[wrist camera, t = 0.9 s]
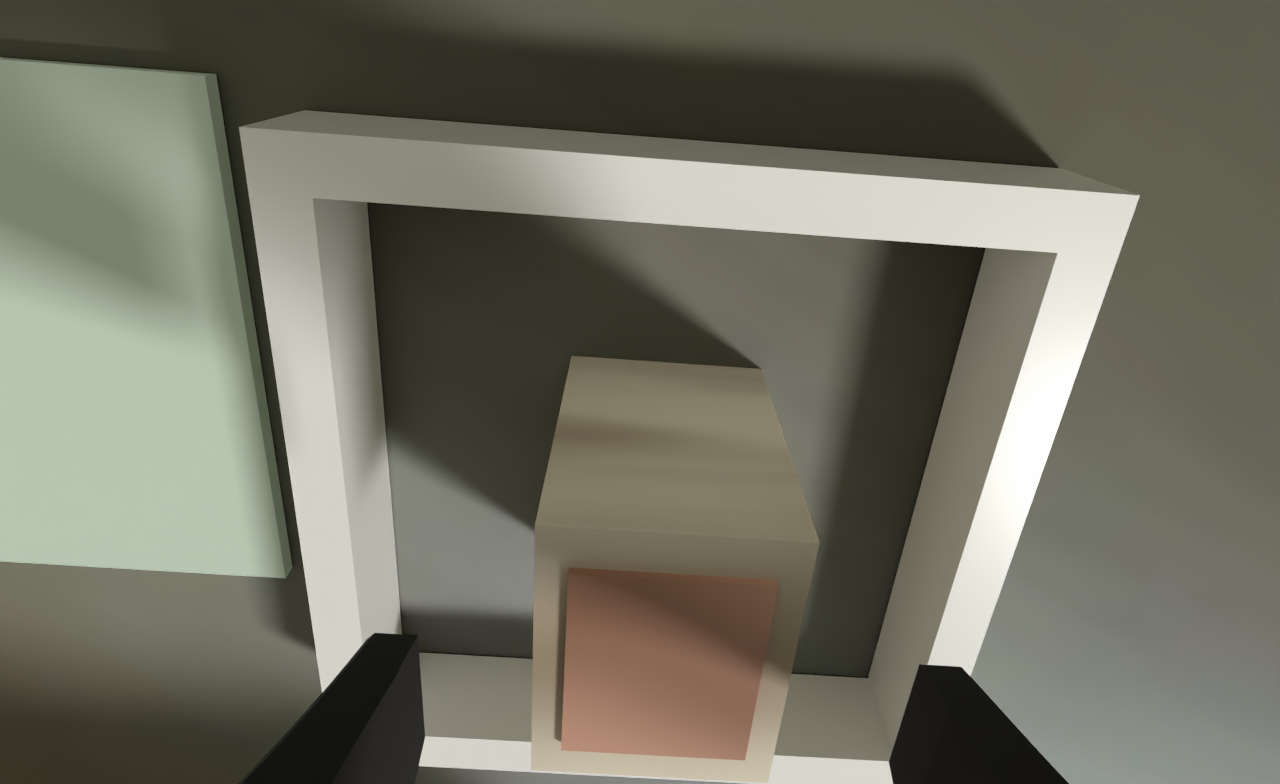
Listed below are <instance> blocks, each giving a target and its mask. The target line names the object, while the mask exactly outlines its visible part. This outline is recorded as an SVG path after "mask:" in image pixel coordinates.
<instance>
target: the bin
mask: <svg viewBox="0 0 1280 784" xmlns="http://www.w3.org/2000/svg"><path fill="white" fill-rule="evenodd" d="M239 132H240V138H241V145H242V152H243V159H244V166H245V172H246V179H247V186H248V193H249V200H250V206H251V213H252V220H253V227H254V234H255V240H256V247H257V254H258V261H259V268H260V274H261V281H262V288H263V295H264V302H265V308H266V315H267V322H268V329H269V336H270V342H271V349H272V356H273V363H274V370H275V376H276V383H277V390H278V397H279V404H280V410H281V417H282V424H283V431H284V438H285V444H286V451H287V458H288V465H289V472H290V478H291V485H292V492H293V499H294V505H295V512H296V519H297V526H298V533H299V539H300V546H301V553H302V560H303V567H304V573H305V580H306V587H307V594H308V601H309V607H310V614H311V621H312V628H313V635H314V641H315V648H316V655H317V662H318V669H319V675H320V682H321V689H322V693H323V691H324V690H325V689H326V688H327V687H328V686H329V684H330V683H331V682H332V681H333V680H334V678H335V677H336V676H337V675H338V674H339V673H340V671H341V670H342V669H343V668H344V667H345V665H346V664H347V663H348V662H349V660H350V659H351V658H352V657H353V656H354V654H355V653H356V652H357V651H358V649H359V648H360V647H361V646H362V645H363V643H364V642H365V641H366V640H367V638H369V637H370V636H371V635H373V634H374V633H387V634H402V626H401V614H400V602H399V589H398V577H397V565H396V552H395V540H394V528H393V515H392V503H391V491H390V478H389V466H388V454H387V441H386V429H385V417H384V405H383V392H382V380H381V368H380V355H379V343H378V331H377V318H376V306H375V294H374V281H373V269H372V257H371V244H370V232H369V220H368V207H367V202H372V203H386V204H399V205H413V206H426V207H440V208H454V209H467V210H481V211H494V212H508V213H521V214H535V215H549V216H562V217H576V218H589V219H603V220H616V221H630V222H644V223H657V224H671V225H684V226H698V227H711V228H725V229H739V230H752V231H766V232H779V233H793V234H806V235H820V236H834V237H847V238H861V239H874V240H888V241H901V242H915V243H929V244H942V245H956V246H969V247H983V248H986V249H985V253H984V256H983V260H982V264H981V267H980V271H979V275H978V278H977V282H976V286H975V289H974V293H973V297H972V300H971V304H970V307H969V311H968V315H967V318H966V322H965V326H964V329H963V333H962V337H961V340H960V344H959V348H958V351H957V355H956V359H955V362H954V366H953V370H952V373H951V377H950V380H949V384H948V388H947V391H946V395H945V399H944V402H943V406H942V410H941V413H940V417H939V421H938V424H937V428H936V432H935V435H934V439H933V443H932V446H931V450H930V453H929V457H928V461H927V464H926V468H925V472H924V475H923V479H922V483H921V486H920V490H919V494H918V497H917V501H916V505H915V508H914V512H913V515H912V519H911V523H910V526H909V530H908V534H907V537H906V541H905V545H904V548H903V552H902V556H901V559H900V563H899V567H898V570H897V574H896V578H895V581H894V585H893V588H892V592H891V596H890V599H889V603H888V607H887V610H886V614H885V618H884V621H883V625H882V629H881V632H880V636H879V640H878V643H877V647H876V651H875V654H874V658H873V661H872V665H871V669H870V672H869V676H868V678H855V677H838V676H820V675H803V674H791V678H790V683H789V688H788V692H787V697H786V701H785V706H784V711H783V715H782V720H781V725H780V729H779V734H778V738H777V743H776V748H775V752H774V757H773V762H772V766H771V771H770V775H769V780H768V783H761V782H743V781H724V780H706V779H687V778H669V777H650V776H632V775H613V774H595V773H576V772H558V771H539V770H531V737H532V673H533V659H524V658H506V657H489V656H471V655H454V654H437V653H419V658H420V672H421V686H422V700H423V714H424V728H425V740H424V744H423V748H422V753H421V757H420V762H419V766H426V767H445V768H463V769H482V770H501V771H520V772H539V773H557V774H576V775H595V776H614V777H633V778H652V779H670V780H689V781H708V782H727V783H746V784H893V780H892V775H891V771H890V766H889V760H890V756H891V753H892V750H893V747H894V744H895V740H896V737H897V734H898V731H899V728H900V725H901V721H902V718H903V715H904V712H905V709H906V705H907V702H908V699H909V696H910V693H911V689H912V686H913V683H914V680H915V677H916V673H917V670H918V667H919V664H922V665H939V666H956V667H962V668H963V669H964V670H965V671H966V673H967V674H968V675H969V676H971V673H972V670H973V668H974V665H975V662H976V659H977V656H978V653H979V650H980V648H981V645H982V642H983V639H984V636H985V633H986V631H987V628H988V625H989V622H990V619H991V616H992V614H993V611H994V608H995V605H996V602H997V599H998V597H999V594H1000V591H1001V588H1002V585H1003V582H1004V580H1005V577H1006V574H1007V571H1008V568H1009V565H1010V562H1011V560H1012V557H1013V554H1014V551H1015V548H1016V545H1017V543H1018V540H1019V537H1020V534H1021V531H1022V528H1023V526H1024V523H1025V520H1026V517H1027V514H1028V511H1029V509H1030V506H1031V503H1032V500H1033V497H1034V494H1035V492H1036V489H1037V486H1038V483H1039V480H1040V477H1041V474H1042V472H1043V469H1044V466H1045V463H1046V460H1047V457H1048V455H1049V452H1050V449H1051V446H1052V443H1053V440H1054V438H1055V435H1056V432H1057V429H1058V426H1059V423H1060V421H1061V418H1062V415H1063V412H1064V409H1065V406H1066V404H1067V401H1068V398H1069V395H1070V392H1071V389H1072V386H1073V384H1074V381H1075V378H1076V375H1077V372H1078V369H1079V367H1080V364H1081V361H1082V358H1083V355H1084V352H1085V350H1086V347H1087V344H1088V341H1089V338H1090V335H1091V333H1092V330H1093V327H1094V324H1095V321H1096V318H1097V315H1098V313H1099V310H1100V307H1101V304H1102V301H1103V298H1104V296H1105V293H1106V290H1107V287H1108V284H1109V281H1110V279H1111V276H1112V273H1113V270H1114V267H1115V264H1116V262H1117V259H1118V256H1119V253H1120V250H1121V247H1122V245H1123V242H1124V239H1125V236H1126V233H1127V230H1128V227H1129V225H1130V222H1131V219H1132V216H1133V213H1134V210H1135V208H1136V205H1137V202H1138V199H1139V196H1140V195H1137V194H1134V193H1131V192H1128V191H1125V190H1122V189H1120V188H1117V187H1114V186H1111V185H1108V184H1105V183H1102V182H1099V181H1096V180H1093V179H1090V178H1088V177H1085V176H1082V175H1079V174H1076V173H1073V172H1070V171H1067V170H1064V169H1061V168H1048V167H1035V166H1022V165H1009V164H996V163H983V162H970V161H957V160H944V159H931V158H918V157H905V156H892V155H879V154H866V153H853V152H840V151H827V150H814V149H801V148H788V147H775V146H762V145H749V144H736V143H723V142H710V141H697V140H684V139H671V138H658V137H645V136H632V135H619V134H606V133H593V132H580V131H567V130H554V129H541V128H528V127H515V126H502V125H489V124H476V123H463V122H450V121H437V120H424V119H411V118H398V117H385V116H372V115H359V114H346V113H333V112H320V111H307V110H304V111H300V112H296V113H292V114H288V115H284V116H280V117H276V118H272V119H268V120H264V121H260V122H256V123H252V124H248V125H244V126H240V127H239Z"/></svg>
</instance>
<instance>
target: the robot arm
mask: <svg viewBox="0 0 1280 784" xmlns="http://www.w3.org/2000/svg"><path fill="white" fill-rule="evenodd" d="M424 740H425V728H424V714H423V700H422V686H421V672H420V658H419V644H418V635H404V634H387V633H374V634H373V635H371V636H370V637H369V638H367V640H366V641H365V642H364V643H363V645H362V646H361V647H360V648H359V649H358V651H357V652H356V653H355V654H354V656H353V657H352V658H351V659H350V660H349V662H348V663H347V664H346V665H345V667H344V668H343V669H342V670H341V671H340V673H339V674H338V675H337V676H336V677H335V678H334V680H333V681H332V682H331V683H330V684H329V686H328V687H327V688H326V689H325V690H324V691H323V693H322V694H321V695H320V696H319V697H318V698H317V699H316V701H315V702H314V703H313V704H312V705H311V706H310V707H309V709H308V710H307V711H306V712H305V713H304V714H303V715H302V716H301V718H300V719H299V720H298V721H297V722H296V723H295V724H294V725H293V726H292V727H291V729H290V730H289V731H288V732H287V733H286V734H285V735H284V736H283V737H282V738H281V739H280V741H279V742H278V743H277V744H276V745H275V746H274V747H273V748H272V749H271V750H270V751H269V753H268V754H267V755H266V756H265V757H264V758H263V759H262V760H261V761H260V762H259V763H258V764H257V765H256V766H255V767H254V768H253V770H252V771H251V772H250V773H249V774H248V775H247V776H246V777H245V778H244V779H243V780H242V781H241V782H240V783H239V784H414V783H415V779H416V775H417V770H418V766H419V762H420V757H421V753H422V748H423V744H424ZM889 766H890V771H891V775H892V780H893V784H1069V783H1068V782H1067V781H1066V780H1065V779H1064V778H1063V777H1062V776H1061V775H1060V774H1059V773H1058V772H1057V771H1056V770H1055V769H1054V768H1053V767H1052V765H1051V764H1050V763H1049V762H1048V761H1047V760H1046V759H1045V758H1044V757H1043V756H1042V755H1041V754H1040V753H1039V751H1038V750H1037V749H1036V748H1035V747H1034V746H1033V745H1032V744H1031V743H1030V742H1029V741H1028V739H1027V738H1026V737H1025V736H1024V735H1023V734H1022V733H1021V732H1020V731H1019V730H1018V728H1017V727H1016V726H1015V725H1014V724H1013V723H1012V722H1011V721H1010V720H1009V719H1008V717H1007V716H1006V715H1005V714H1004V713H1003V712H1002V711H1001V710H1000V709H999V708H998V706H997V705H996V704H995V703H994V702H993V701H992V700H991V699H990V698H989V696H988V695H987V694H986V693H985V692H984V691H983V690H982V689H981V688H980V687H979V685H978V684H977V683H976V682H975V681H974V680H973V679H972V678H971V677H970V676H969V675H968V674H967V673H966V671H965V670H964V669H963V668H962V667H956V666H939V665H922V664H919V667H918V670H917V673H916V677H915V680H914V683H913V686H912V689H911V693H910V696H909V699H908V702H907V705H906V709H905V712H904V715H903V718H902V721H901V725H900V728H899V731H898V734H897V737H896V740H895V744H894V747H893V750H892V753H891V756H890V760H889Z"/></svg>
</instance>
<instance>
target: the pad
mask: <svg viewBox="0 0 1280 784" xmlns="http://www.w3.org/2000/svg"><path fill="white" fill-rule="evenodd" d="M0 561H4V562H21V563H37V564H54V565H71V566H88V567H104V568H121V569H138V570H155V571H171V572H188V573H205V574H221V575H238V576H255V577H272V578H286V577H287V575H288V574H289V572H290V571H291V569H292V568H293V567H292V560H291V554H290V547H289V541H288V534H287V528H286V521H285V515H284V509H283V502H282V496H281V489H280V483H279V476H278V470H277V463H276V457H275V450H274V444H273V438H272V431H271V425H270V418H269V412H268V405H267V399H266V392H265V386H264V379H263V373H262V367H261V360H260V354H259V347H258V341H257V334H256V328H255V321H254V315H253V308H252V302H251V296H250V289H249V283H248V276H247V270H246V263H245V257H244V250H243V244H242V237H241V231H240V225H239V218H238V212H237V205H236V199H235V192H234V186H233V179H232V173H231V166H230V160H229V154H228V147H227V141H226V134H225V128H224V121H223V115H222V108H221V102H220V95H219V89H218V82H217V76H216V74H209V73H196V72H183V71H170V70H157V69H145V68H132V67H119V66H106V65H93V64H80V63H68V62H55V61H42V60H29V59H16V58H4V57H0Z"/></svg>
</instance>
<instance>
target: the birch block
mask: <svg viewBox="0 0 1280 784" xmlns="http://www.w3.org/2000/svg"><path fill="white" fill-rule="evenodd" d="M819 544H820V542H819V539H818V536H817V533H816V530H815V527H814V524H813V521H812V518H811V515H810V512H809V509H808V507H807V504H806V501H805V498H804V495H803V492H802V489H801V486H800V483H799V480H798V477H797V474H796V471H795V468H794V465H793V462H792V459H791V456H790V453H789V450H788V447H787V444H786V441H785V438H784V435H783V432H782V429H781V426H780V423H779V420H778V417H777V415H776V412H775V409H774V406H773V403H772V400H771V397H770V394H769V391H768V388H767V385H766V382H765V379H764V376H763V373H762V370H761V369H756V368H741V367H727V366H712V365H697V364H683V363H668V362H654V361H639V360H625V359H610V358H595V357H581V356H571V361H570V365H569V370H568V375H567V379H566V384H565V388H564V393H563V398H562V402H561V407H560V411H559V416H558V421H557V425H556V430H555V434H554V439H553V444H552V448H551V453H550V457H549V462H548V467H547V471H546V476H545V480H544V485H543V490H542V494H541V499H540V503H539V508H538V513H537V517H536V522H535V546H534V610H533V673H532V737H531V770H539V771H558V772H576V773H595V774H613V775H632V776H650V777H669V778H687V779H706V780H724V781H743V782H761V783H768V780H769V775H770V771H771V766H772V762H773V757H774V752H775V748H776V743H777V738H778V734H779V729H780V725H781V720H782V715H783V711H784V706H785V701H786V697H787V692H788V688H789V683H790V678H791V674H792V669H793V664H794V660H795V655H796V651H797V646H798V641H799V637H800V632H801V627H802V623H803V618H804V613H805V609H806V604H807V600H808V595H809V590H810V586H811V581H812V576H813V572H814V567H815V563H816V558H817V553H818V549H819Z"/></svg>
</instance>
